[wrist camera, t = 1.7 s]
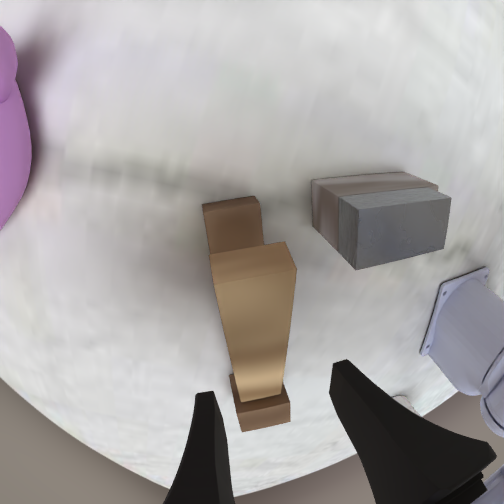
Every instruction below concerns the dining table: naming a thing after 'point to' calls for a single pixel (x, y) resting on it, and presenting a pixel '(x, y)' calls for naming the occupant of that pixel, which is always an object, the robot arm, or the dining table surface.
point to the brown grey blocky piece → (251, 235)
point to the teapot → (12, 133)
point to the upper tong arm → (256, 314)
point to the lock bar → (391, 225)
